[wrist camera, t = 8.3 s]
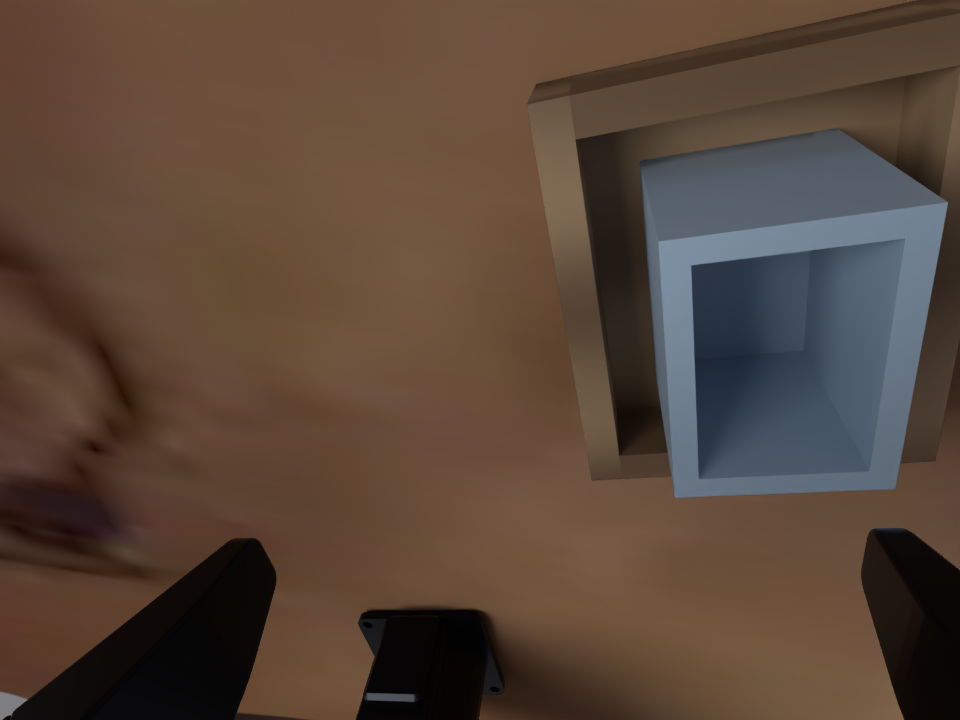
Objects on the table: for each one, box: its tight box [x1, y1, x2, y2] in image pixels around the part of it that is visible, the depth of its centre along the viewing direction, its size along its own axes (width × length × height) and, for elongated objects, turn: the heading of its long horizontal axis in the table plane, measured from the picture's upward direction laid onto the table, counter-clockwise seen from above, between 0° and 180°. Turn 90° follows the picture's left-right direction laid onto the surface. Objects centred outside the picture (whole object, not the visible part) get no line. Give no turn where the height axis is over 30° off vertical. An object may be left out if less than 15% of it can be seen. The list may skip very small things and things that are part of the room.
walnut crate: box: [527, 0, 960, 481], centre depth 17 cm, size 12×10×3 cm
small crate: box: [639, 128, 948, 498], centre depth 16 cm, size 7×5×6 cm
